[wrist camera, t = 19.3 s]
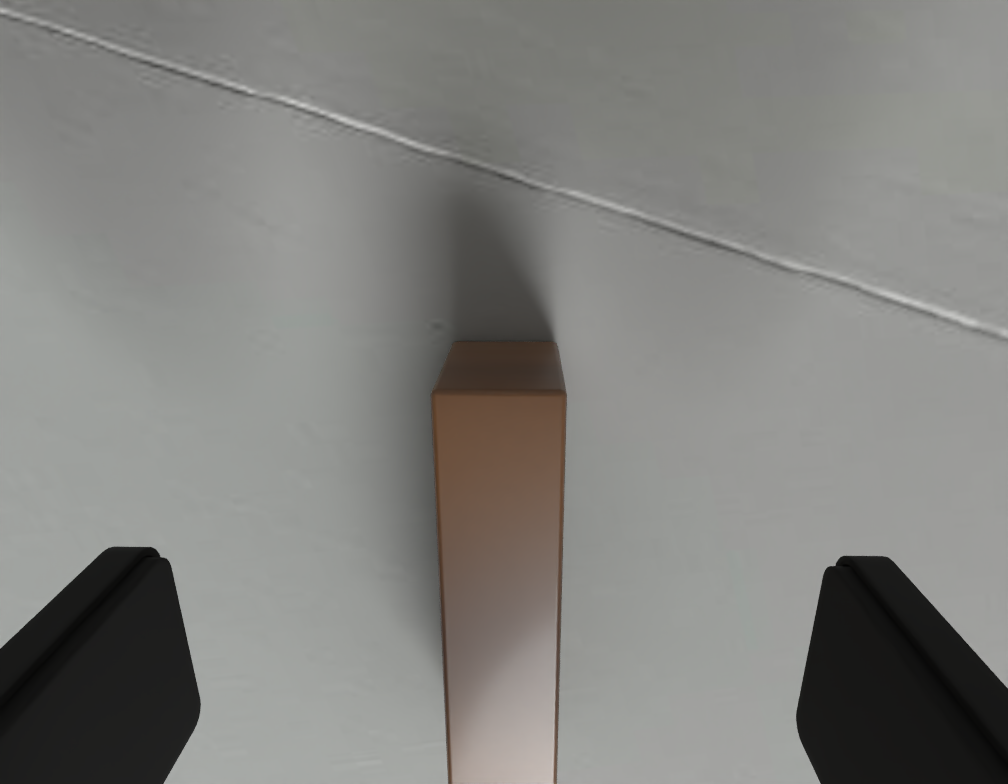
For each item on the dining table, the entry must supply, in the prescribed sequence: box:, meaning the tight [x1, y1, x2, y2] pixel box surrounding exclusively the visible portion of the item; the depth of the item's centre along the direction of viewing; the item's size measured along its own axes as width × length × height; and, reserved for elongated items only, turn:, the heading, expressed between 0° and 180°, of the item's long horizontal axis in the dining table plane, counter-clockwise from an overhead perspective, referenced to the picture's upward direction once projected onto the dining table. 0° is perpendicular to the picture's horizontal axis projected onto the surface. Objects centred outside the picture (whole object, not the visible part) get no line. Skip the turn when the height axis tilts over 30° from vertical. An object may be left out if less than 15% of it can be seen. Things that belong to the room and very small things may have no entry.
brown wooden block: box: [431, 341, 567, 784], centre depth 12 cm, size 9×2×3 cm, turn 0°
